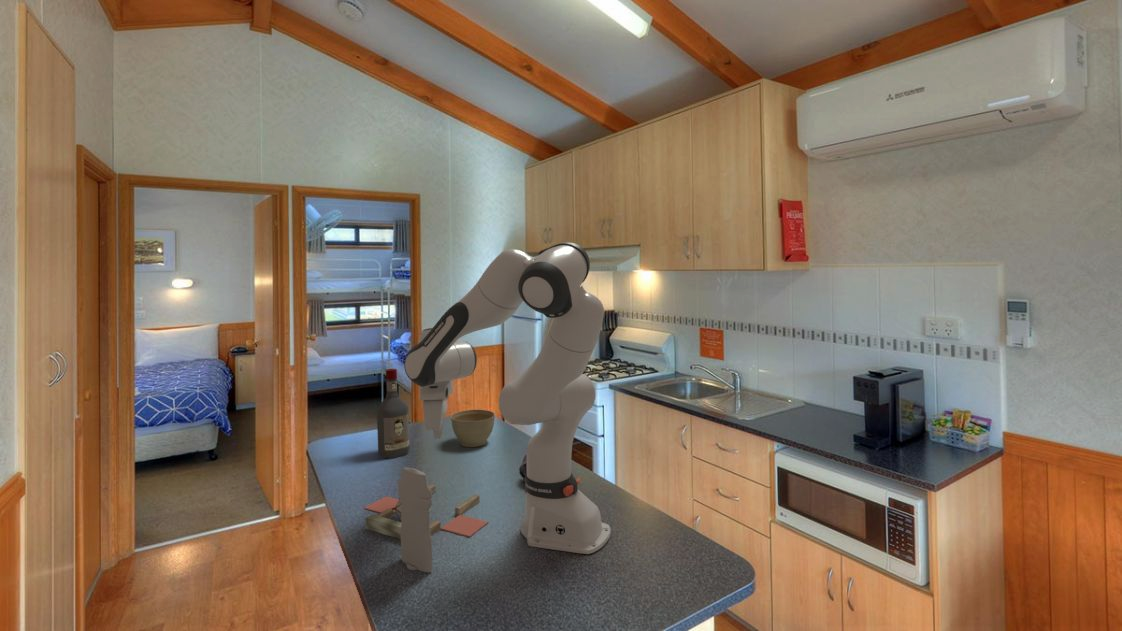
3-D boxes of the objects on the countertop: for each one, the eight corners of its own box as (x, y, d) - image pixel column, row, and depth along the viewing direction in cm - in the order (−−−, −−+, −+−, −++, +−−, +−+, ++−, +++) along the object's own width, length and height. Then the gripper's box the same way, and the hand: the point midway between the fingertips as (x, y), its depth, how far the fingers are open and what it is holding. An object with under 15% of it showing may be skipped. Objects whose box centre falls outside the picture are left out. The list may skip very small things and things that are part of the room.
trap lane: (479, 502, 148) (479, 491, 148) (418, 544, 126) (418, 532, 125) (431, 491, 155) (431, 481, 155) (366, 529, 133) (365, 517, 133)
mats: (488, 523, 136) (488, 521, 136) (469, 537, 129) (469, 536, 129) (385, 497, 151) (385, 496, 151) (364, 508, 144) (364, 507, 144)
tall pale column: (393, 561, 118) (390, 466, 116) (408, 553, 122) (405, 460, 120) (425, 577, 112) (422, 477, 110) (440, 568, 116) (437, 471, 114)
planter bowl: (490, 434, 207) (490, 407, 206) (499, 448, 192) (498, 418, 191) (449, 439, 202) (448, 411, 201) (454, 453, 187) (453, 423, 186)
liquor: (376, 453, 187) (373, 369, 184) (400, 447, 193) (397, 366, 190) (387, 460, 180) (384, 373, 177) (412, 453, 186) (409, 369, 184)
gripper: (429, 379, 152) (430, 426, 153) (418, 395, 132) (420, 449, 133) (451, 379, 153) (452, 425, 154) (444, 394, 133) (446, 448, 134)
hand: (438, 437), depth 144 cm, fingers closed
